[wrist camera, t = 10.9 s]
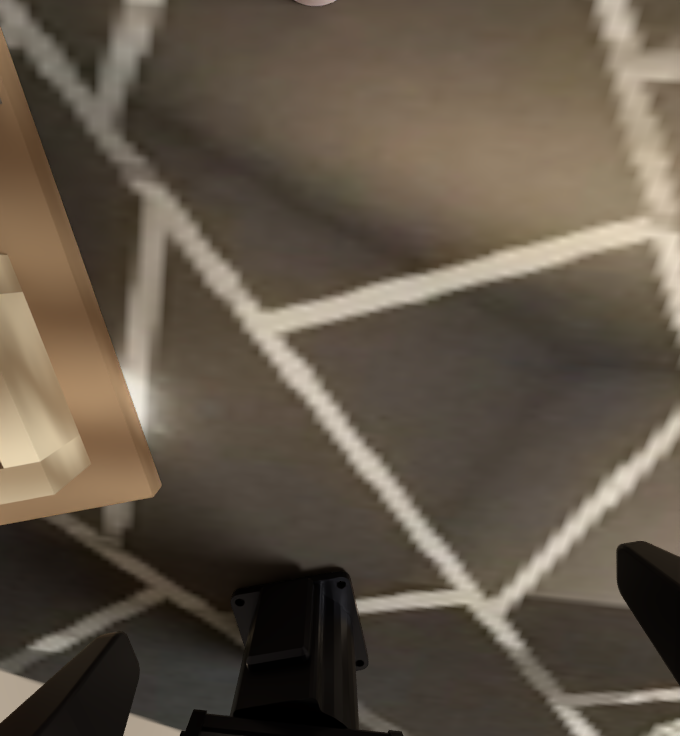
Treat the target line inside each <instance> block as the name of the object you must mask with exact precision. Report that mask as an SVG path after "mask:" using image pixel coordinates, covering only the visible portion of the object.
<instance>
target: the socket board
mask: <svg viewBox="0 0 680 736" xmlns="http://www.w3.org/2000/svg"><path fill="white" fill-rule="evenodd" d="M161 486H162V484H161V481H160V478H159V476H158V473H157V470H156V467H155V464H154V461H153V458H152V456H151V453H150V450H149V447H148V444H147V441H146V439H145V436H144V433H143V430H142V427H141V424H140V422H139V419H138V416H137V413H136V410H135V407H134V405H133V402H132V399H131V396H130V393H129V390H128V388H127V385H126V382H125V379H124V376H123V373H122V370H121V368H120V365H119V362H118V359H117V356H116V353H115V351H114V348H113V345H112V342H111V339H110V336H109V334H108V331H107V328H106V325H105V322H104V319H103V317H102V314H101V311H100V308H99V305H98V302H97V299H96V297H95V294H94V291H93V288H92V285H91V282H90V280H89V277H88V274H87V271H86V268H85V265H84V263H83V260H82V257H81V254H80V251H79V248H78V246H77V243H76V240H75V237H74V234H73V231H72V229H71V226H70V223H69V220H68V217H67V214H66V211H65V209H64V206H63V203H62V200H61V197H60V194H59V192H58V189H57V186H56V183H55V180H54V177H53V175H52V172H51V169H50V166H49V163H48V160H47V158H46V155H45V152H44V149H43V146H42V143H41V140H40V138H39V135H38V132H37V129H36V126H35V123H34V121H33V118H32V115H31V112H30V109H29V106H28V104H27V101H26V98H25V95H24V92H23V89H22V87H21V84H20V81H19V78H18V75H17V72H16V70H15V67H14V64H13V61H12V58H11V55H10V52H9V50H8V47H7V44H6V41H5V38H4V35H3V33H2V30H1V27H0V525H5V524H10V523H15V522H21V521H26V520H32V519H37V518H42V517H48V516H53V515H59V514H64V513H70V512H75V511H80V510H86V509H91V508H97V507H102V506H107V505H113V504H118V503H124V502H129V501H135V500H140V499H145V498H151V497H154V495H155V494H156V493H157V492H158V490H159V489H160V488H161Z"/></svg>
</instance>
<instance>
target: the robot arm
mask: <svg viewBox="0 0 680 736" xmlns="http://www.w3.org/2000/svg"><path fill="white" fill-rule="evenodd" d="M616 557H617V585H618V588H619V591H620V593H621V595H622V597H623V599H624V600H625V602H626V603H627V605H628V606H629V608H630V610H631V611H632V613H633V614H634V616H635V617H636V619H637V620H638V622H639V624H640V625H641V627H642V628H643V630H644V631H645V633H646V634H647V636H648V637H649V639H650V641H651V642H652V644H653V645H654V647H655V648H656V650H657V651H658V653H659V655H660V656H661V658H662V659H663V661H664V662H665V664H666V665H667V667H668V669H669V670H670V672H671V673H672V675H673V676H674V678H675V679H676V681H677V682H678V684H679V685H680V557H679V556H677V555H674V554H672V553H670V552H668V551H665V550H663V549H661V548H659V547H657V546H654V545H652V544H650V543H647V542H644V541H636V542H630V543H624V544H621V545H619V546H618V548H617V552H616ZM339 581H344V582H343V583H339ZM239 599H243V600H239ZM231 606H232V609H233V612H234V615H235V618H236V621H237V624H238V627H239V631H240V634H241V637H242V640H243V643H244V646H245V651H244V655H243V660H242V664H241V668H240V673H239V677H238V682H237V686H236V691H235V695H234V700H233V704H232V708H231V713H230V716H225V715H215V714H207V711H205V710H196V709H194V710H193V712H192V715H191V718H190V720H189V723H188V726H187V728H186V731H181V734H180V736H403V734H402V732H401V731H392V730H389V731H388V733H385V732H375V731H366V730H359V718H358V701H357V684H356V671H358V670H363V669H365V668H366V667H367V666H368V654H367V649H366V645H365V640H364V636H363V631H362V627H361V623H360V618H359V614H358V609H357V605H356V600H355V596H354V592H353V587H352V583H351V578H350V576H349V574H348V573H346V572H343V571H339V572H333V573H328V574H322V575H316V576H311V577H305V578H299V579H294V580H288V581H282V582H276V583H271V584H265V585H259V586H254V587H248V588H242V589H238V590H236V591H235V592H234V593H233V595H232V598H231ZM139 673H140V668H139V663H138V660H137V658H136V655H135V653H134V650H133V648H132V646H131V643H130V641H129V639H128V636H127V635H126V634H125V633H124V632H121V631H118V632H112V633H107V634H103V635H100V636H98V637H97V638H96V639H94V640H93V641H92V642H91V643H90V644H89V645H88V646H87V647H85V648H84V649H83V650H82V651H81V652H80V653H79V654H78V655H76V656H75V657H74V658H73V659H72V660H71V661H70V662H69V663H67V664H66V665H65V666H64V667H63V668H62V669H61V670H60V671H58V672H57V673H56V674H55V675H54V676H53V677H52V678H51V679H50V680H48V681H47V682H46V683H45V684H44V685H43V686H42V687H41V688H39V689H38V690H37V691H36V692H35V693H34V694H33V695H32V696H30V698H28V699H27V700H26V701H25V702H24V703H23V704H21V705H20V706H19V707H18V708H17V709H16V710H15V711H14V712H12V713H11V714H10V715H9V716H8V717H7V718H6V719H5V720H3V721H2V722H1V723H0V736H123V734H124V731H125V727H126V723H127V720H128V716H129V713H130V709H131V705H132V702H133V698H134V695H135V691H136V687H137V684H138V680H139Z"/></svg>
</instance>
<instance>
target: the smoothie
mask: <svg viewBox="0 0 680 736" xmlns="http://www.w3.org/2000/svg"><path fill="white" fill-rule="evenodd" d="M294 1H296V2H298V3H301V4H303V5H308V6H322V5H326V4H329V3H332V2H334V1H336V0H294Z"/></svg>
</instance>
